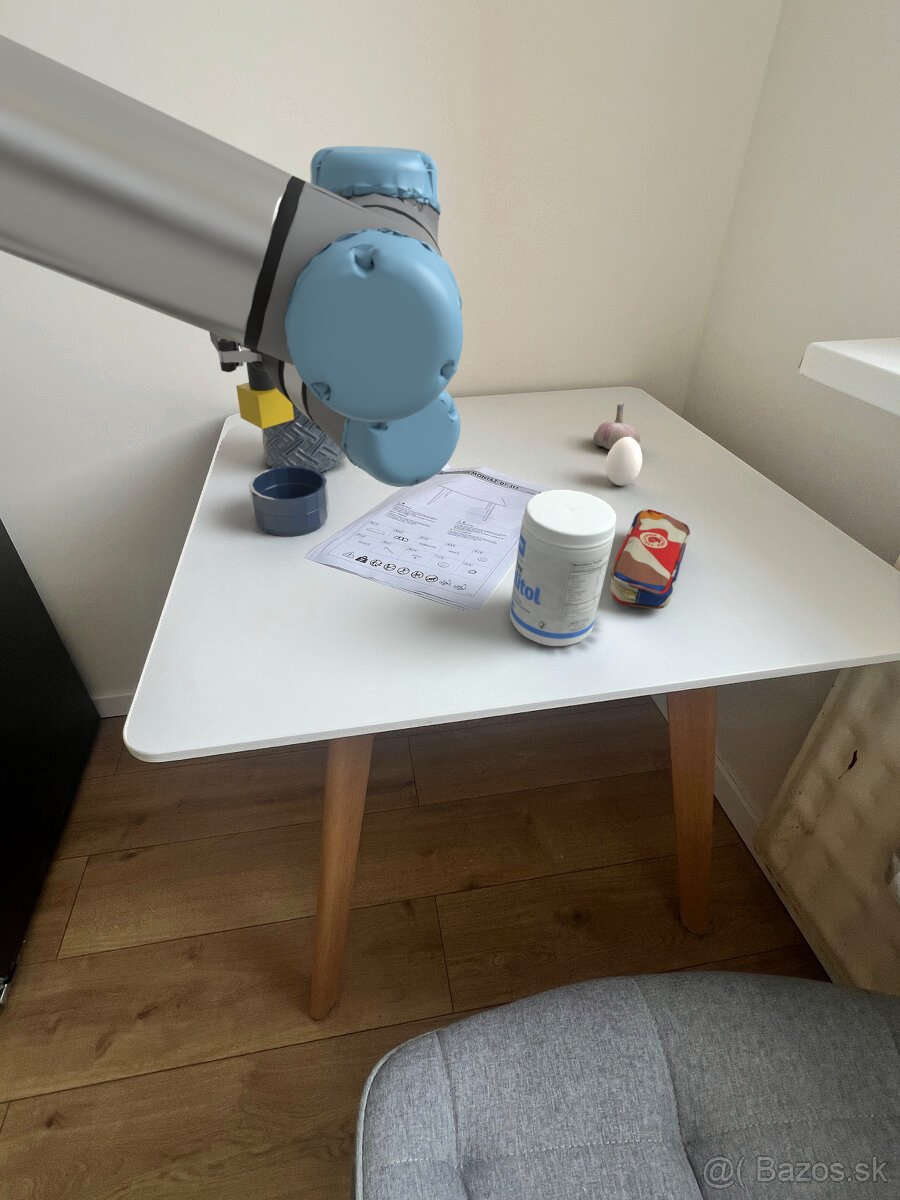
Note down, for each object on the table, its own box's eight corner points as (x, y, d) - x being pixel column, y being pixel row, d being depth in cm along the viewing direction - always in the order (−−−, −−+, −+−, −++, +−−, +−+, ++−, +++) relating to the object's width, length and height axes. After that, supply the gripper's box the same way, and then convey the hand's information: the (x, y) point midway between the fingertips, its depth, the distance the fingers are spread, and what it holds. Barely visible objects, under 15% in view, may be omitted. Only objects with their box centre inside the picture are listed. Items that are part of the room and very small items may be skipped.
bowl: (240, 517, 96) (234, 480, 92) (300, 494, 102) (296, 459, 98) (283, 545, 90) (278, 508, 87) (343, 519, 96) (341, 483, 93)
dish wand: (240, 417, 74) (216, 252, 64) (272, 408, 76) (253, 247, 67) (261, 429, 72) (240, 259, 62) (294, 419, 74) (278, 254, 65)
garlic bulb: (584, 443, 120) (591, 398, 116) (616, 436, 123) (625, 392, 119) (612, 460, 115) (621, 414, 110) (645, 453, 118) (656, 407, 113)
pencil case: (715, 557, 92) (726, 524, 89) (653, 627, 79) (663, 592, 76) (639, 528, 97) (646, 497, 94) (569, 590, 85) (575, 556, 82)
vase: (346, 474, 107) (335, 276, 91) (265, 478, 105) (239, 276, 88) (339, 442, 117) (329, 257, 100) (265, 445, 115) (241, 257, 98)
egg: (626, 474, 111) (635, 429, 107) (643, 490, 107) (653, 443, 103) (596, 478, 110) (604, 432, 105) (612, 493, 106) (621, 446, 101)
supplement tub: (492, 613, 80) (503, 500, 72) (555, 589, 85) (573, 480, 76) (546, 661, 74) (565, 543, 65) (611, 633, 78) (637, 518, 70)
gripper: (234, 432, 54) (165, 348, 70) (413, 401, 61) (313, 331, 77) (219, 333, 50) (149, 267, 66) (414, 312, 57) (307, 257, 73)
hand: (237, 302), depth 72 cm, fingers closed on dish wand, 3 cm apart
